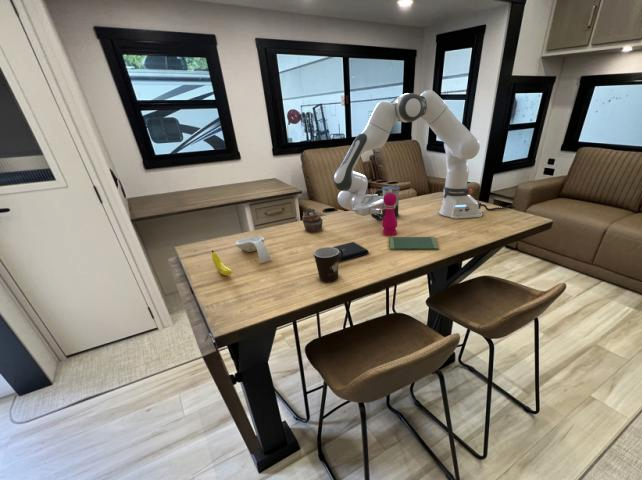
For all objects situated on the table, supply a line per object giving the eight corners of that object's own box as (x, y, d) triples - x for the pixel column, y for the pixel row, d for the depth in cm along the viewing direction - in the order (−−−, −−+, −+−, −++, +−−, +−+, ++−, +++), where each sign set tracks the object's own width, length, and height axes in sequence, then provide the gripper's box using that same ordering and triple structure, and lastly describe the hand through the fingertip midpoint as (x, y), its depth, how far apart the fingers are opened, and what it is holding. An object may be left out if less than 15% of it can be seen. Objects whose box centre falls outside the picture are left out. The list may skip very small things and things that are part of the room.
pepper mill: (378, 233, 149) (378, 189, 138) (388, 229, 153) (389, 186, 142) (390, 237, 145) (391, 192, 134) (400, 232, 149) (401, 189, 138)
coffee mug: (321, 286, 107) (318, 259, 102) (313, 276, 114) (310, 250, 108) (352, 278, 112) (351, 252, 106) (342, 268, 118) (341, 243, 113)
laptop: (313, 251, 132) (312, 247, 131) (357, 243, 139) (357, 239, 138) (323, 266, 120) (323, 261, 119) (371, 257, 127) (371, 252, 125)
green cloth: (434, 238, 142) (434, 236, 142) (438, 249, 131) (438, 248, 131) (389, 238, 143) (389, 237, 143) (390, 249, 132) (390, 248, 132)
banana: (229, 284, 109) (225, 268, 106) (212, 266, 122) (208, 251, 118) (238, 282, 111) (233, 265, 108) (220, 264, 123) (216, 249, 120)
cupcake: (318, 234, 150) (316, 213, 144) (300, 232, 152) (297, 211, 147) (326, 227, 157) (325, 207, 152) (309, 225, 160) (307, 206, 154)
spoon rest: (233, 248, 137) (229, 232, 133) (260, 241, 143) (257, 226, 139) (252, 267, 121) (247, 249, 117) (280, 259, 127) (277, 242, 123)
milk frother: (400, 213, 174) (401, 185, 166) (395, 222, 161) (396, 193, 153) (375, 212, 177) (374, 185, 169) (368, 221, 164) (368, 192, 156)
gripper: (348, 202, 144) (371, 207, 136) (378, 193, 157) (400, 197, 149) (349, 215, 148) (371, 221, 140) (378, 206, 160) (399, 211, 152)
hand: (386, 209), depth 144 cm, fingers open, 8 cm apart
